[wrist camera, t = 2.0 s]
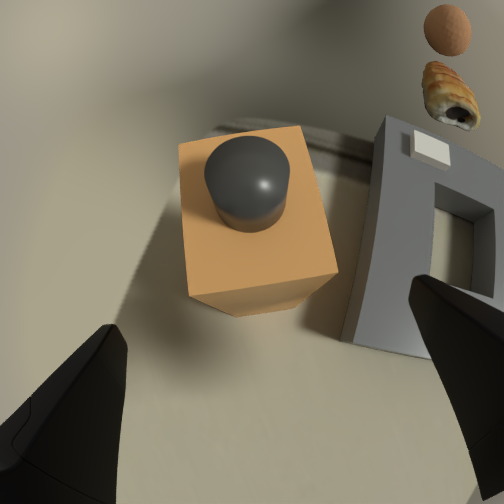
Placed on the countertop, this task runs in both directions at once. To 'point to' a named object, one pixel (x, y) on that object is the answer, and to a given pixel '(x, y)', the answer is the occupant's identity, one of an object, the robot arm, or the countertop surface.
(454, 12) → the egg
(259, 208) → the plug
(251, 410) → the countertop surface
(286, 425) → the countertop surface
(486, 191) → the socket
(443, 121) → the pastry
